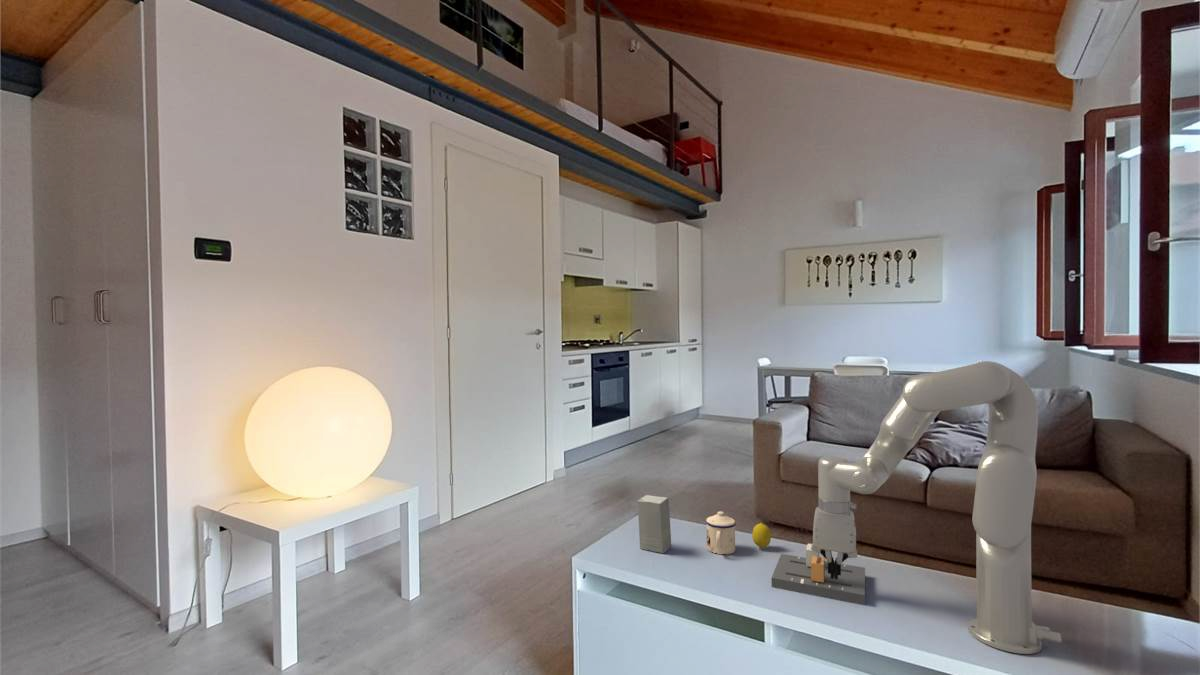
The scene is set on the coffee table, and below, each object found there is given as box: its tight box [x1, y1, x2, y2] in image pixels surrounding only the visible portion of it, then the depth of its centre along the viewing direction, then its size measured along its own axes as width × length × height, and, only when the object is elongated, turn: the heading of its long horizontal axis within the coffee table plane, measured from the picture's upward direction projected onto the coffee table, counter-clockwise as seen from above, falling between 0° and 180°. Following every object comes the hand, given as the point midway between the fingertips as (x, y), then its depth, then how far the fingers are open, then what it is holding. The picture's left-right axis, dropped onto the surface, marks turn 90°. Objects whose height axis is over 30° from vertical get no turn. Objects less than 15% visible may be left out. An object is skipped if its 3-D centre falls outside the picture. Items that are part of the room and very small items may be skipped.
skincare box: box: [637, 494, 672, 554], centre depth 166 cm, size 8×7×16 cm
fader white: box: [805, 542, 820, 567], centre depth 148 cm, size 3×5×5 cm, turn 153°
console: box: [770, 553, 866, 606], centre depth 143 cm, size 22×18×2 cm
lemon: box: [752, 522, 772, 549], centre depth 166 cm, size 6×6×8 cm
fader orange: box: [811, 554, 826, 583], centre depth 139 cm, size 3×5×5 cm, turn 153°
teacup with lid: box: [705, 510, 737, 555], centre depth 164 cm, size 12×9×12 cm
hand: (834, 576), depth 137 cm, fingers closed
